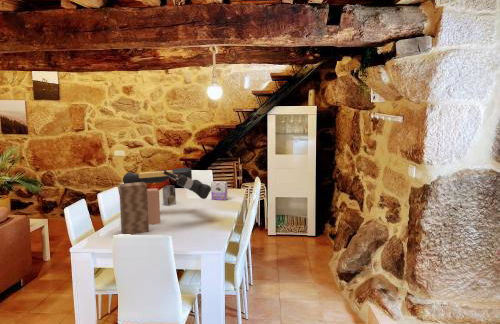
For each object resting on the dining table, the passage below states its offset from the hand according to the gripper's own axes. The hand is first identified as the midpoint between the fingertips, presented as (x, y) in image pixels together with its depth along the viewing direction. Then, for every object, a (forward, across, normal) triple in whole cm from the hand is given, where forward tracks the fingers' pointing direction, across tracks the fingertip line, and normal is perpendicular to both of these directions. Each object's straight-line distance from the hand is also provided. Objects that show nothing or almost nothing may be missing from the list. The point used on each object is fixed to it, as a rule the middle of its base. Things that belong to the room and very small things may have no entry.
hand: (163, 171), depth 260 cm
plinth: (-2, 0, +44) cm, 44 cm away
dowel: (+3, 0, +5) cm, 6 cm away
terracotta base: (-15, -16, +36) cm, 42 cm away
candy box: (-76, -60, +2) cm, 97 cm away
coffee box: (-37, -63, +24) cm, 77 cm away
